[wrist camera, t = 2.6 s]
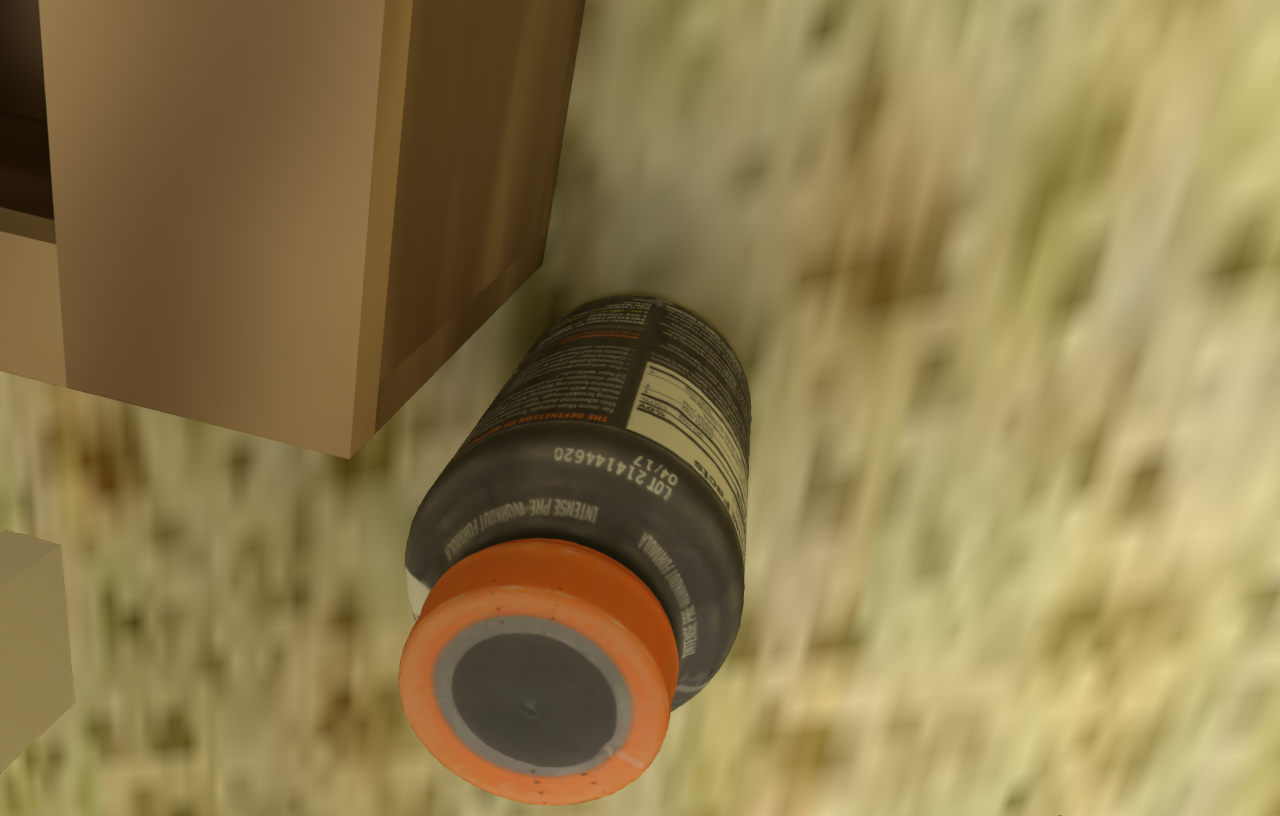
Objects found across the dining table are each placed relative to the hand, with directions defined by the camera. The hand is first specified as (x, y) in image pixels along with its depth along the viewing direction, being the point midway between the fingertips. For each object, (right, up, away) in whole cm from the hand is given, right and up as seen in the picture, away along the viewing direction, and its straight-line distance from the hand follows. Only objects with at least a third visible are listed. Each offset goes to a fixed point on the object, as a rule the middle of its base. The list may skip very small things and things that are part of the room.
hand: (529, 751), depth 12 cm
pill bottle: (+1, +5, +11) cm, 12 cm away
